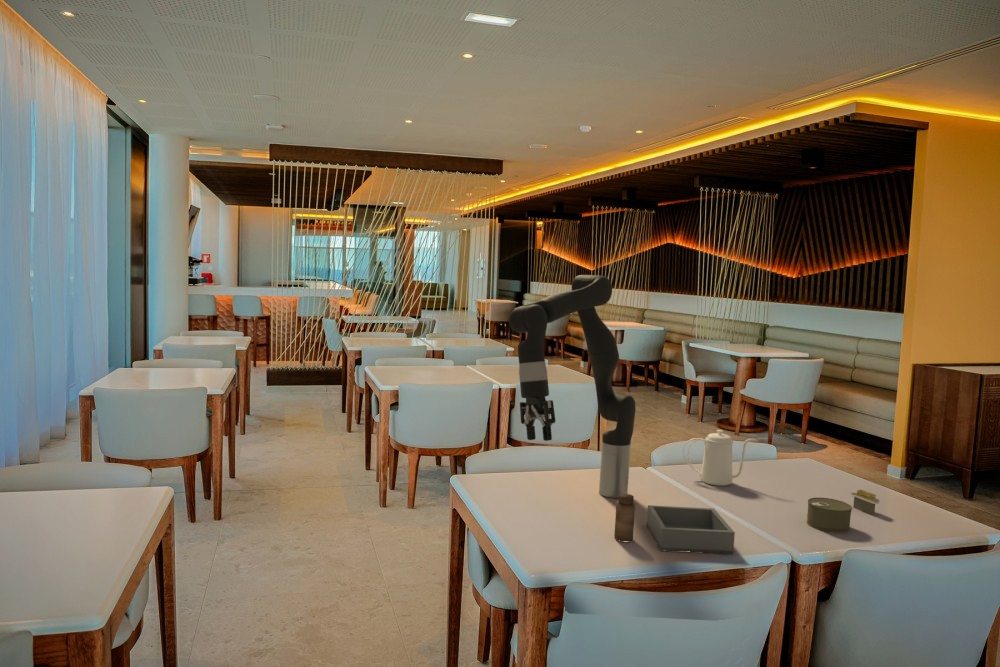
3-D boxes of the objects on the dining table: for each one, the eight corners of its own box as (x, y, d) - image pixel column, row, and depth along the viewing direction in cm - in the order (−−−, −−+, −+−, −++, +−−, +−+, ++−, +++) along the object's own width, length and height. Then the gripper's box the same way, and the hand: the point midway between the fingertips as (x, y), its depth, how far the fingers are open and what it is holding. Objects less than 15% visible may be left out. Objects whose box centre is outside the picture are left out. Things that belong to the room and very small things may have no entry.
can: (859, 533, 210) (861, 510, 210) (821, 533, 208) (823, 510, 208) (833, 519, 222) (835, 497, 221) (797, 519, 220) (799, 497, 219)
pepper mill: (613, 535, 199) (615, 492, 198) (631, 536, 199) (633, 493, 198) (615, 541, 194) (618, 498, 193) (634, 542, 194) (637, 499, 193)
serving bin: (646, 525, 208) (647, 505, 208) (712, 528, 208) (714, 508, 207) (660, 551, 189) (662, 528, 189) (733, 554, 189) (734, 532, 188)
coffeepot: (754, 491, 247) (759, 437, 245) (680, 481, 255) (683, 429, 253) (754, 483, 257) (758, 431, 256) (682, 473, 265) (686, 423, 264)
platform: (856, 502, 241) (858, 483, 241) (903, 520, 225) (905, 500, 224) (829, 505, 237) (830, 485, 236) (875, 523, 220) (877, 503, 220)
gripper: (559, 377, 189) (565, 439, 188) (532, 379, 202) (538, 437, 201) (534, 379, 186) (541, 442, 185) (509, 381, 198) (514, 441, 197)
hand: (539, 440), depth 193 cm, fingers open, 8 cm apart
